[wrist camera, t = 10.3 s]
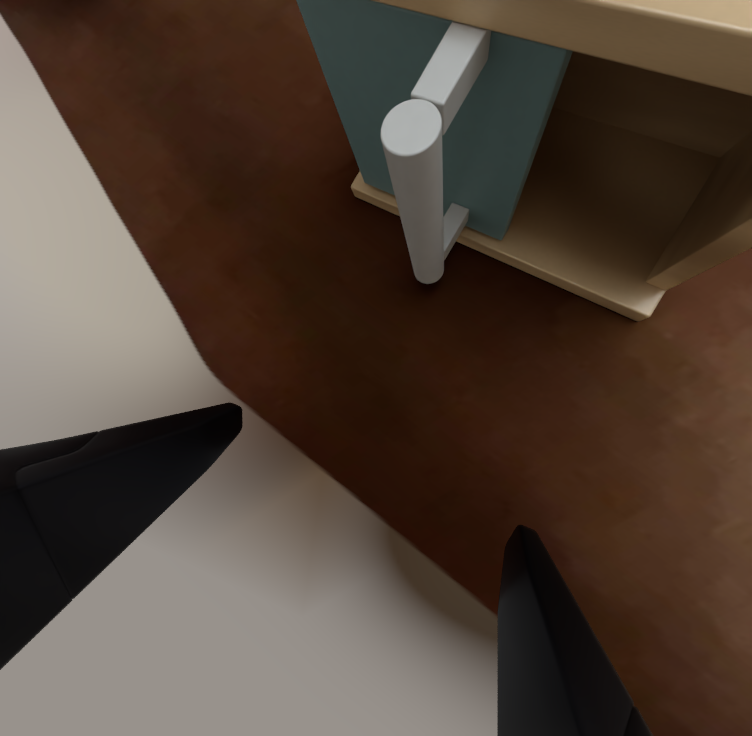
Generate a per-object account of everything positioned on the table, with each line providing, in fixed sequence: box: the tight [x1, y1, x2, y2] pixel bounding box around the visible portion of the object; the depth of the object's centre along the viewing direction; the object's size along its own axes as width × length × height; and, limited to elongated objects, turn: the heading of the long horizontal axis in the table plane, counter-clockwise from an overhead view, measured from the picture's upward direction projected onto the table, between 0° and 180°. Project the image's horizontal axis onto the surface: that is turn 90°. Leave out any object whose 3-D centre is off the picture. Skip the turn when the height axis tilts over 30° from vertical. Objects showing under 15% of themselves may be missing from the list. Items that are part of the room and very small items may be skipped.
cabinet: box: [351, 0, 752, 322], centre depth 12 cm, size 10×18×12 cm, turn 59°
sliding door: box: [296, 0, 573, 284], centre depth 13 cm, size 5×9×10 cm, turn 59°
